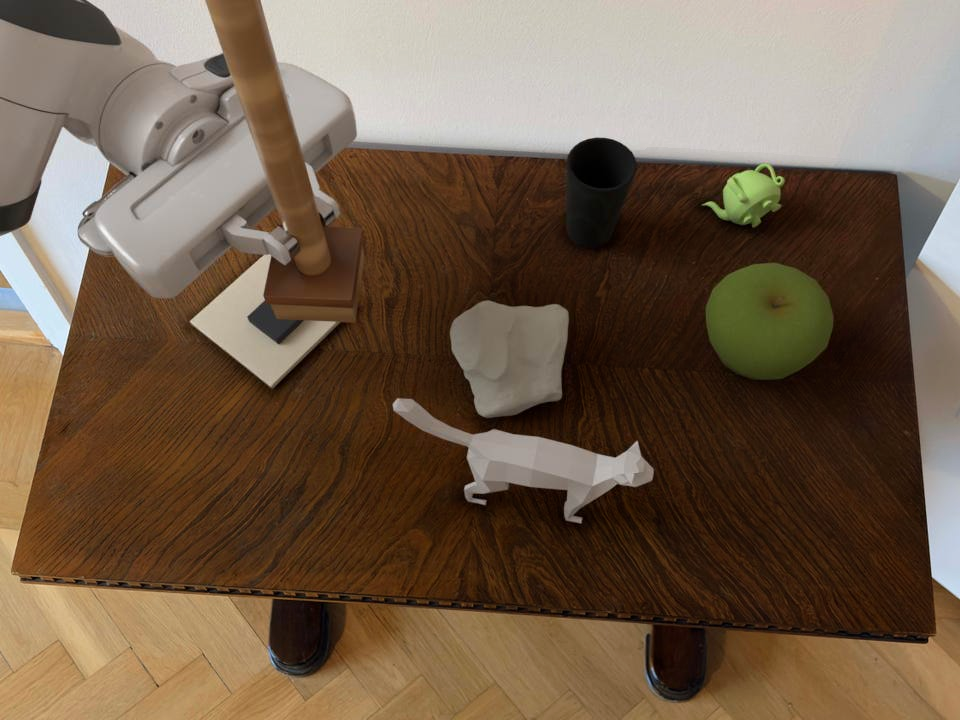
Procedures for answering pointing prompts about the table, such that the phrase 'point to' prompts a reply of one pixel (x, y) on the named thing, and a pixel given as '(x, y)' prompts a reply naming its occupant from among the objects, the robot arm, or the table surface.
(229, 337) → the tile
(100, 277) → the table surface
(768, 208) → the green kettle
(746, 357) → the apple
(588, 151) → the cup
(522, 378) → the decorative stone
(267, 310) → the felt pad
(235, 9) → the wooden post stand
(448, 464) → the table surface
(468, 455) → the cat figurine
